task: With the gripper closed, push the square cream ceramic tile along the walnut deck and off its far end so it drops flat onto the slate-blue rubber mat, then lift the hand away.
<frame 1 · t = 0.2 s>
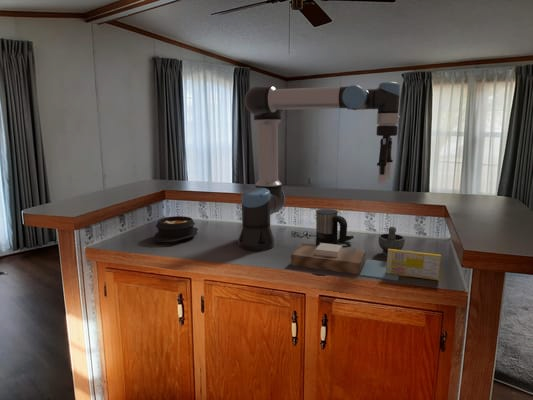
hand: (384, 181, 148), 28 cm above the table, tool pointing down, fingers open, 13 cm apart
candy box: (411, 276, 125), on the table, touching mat
casserole: (176, 238, 171), on the table
milk frother: (334, 244, 160), on the table
tile: (329, 252, 137), point 4 cm above the table, touching deck
deck: (328, 263, 138), on the table
mortar and pestle: (390, 255, 147), on the table
mat: (381, 269, 131), on the table
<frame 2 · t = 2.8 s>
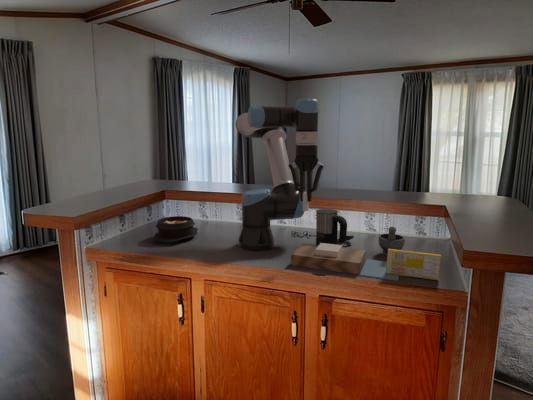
hand: (305, 210, 138), 19 cm above the table, tool pointing down, fingers closed
nothing on the table moved.
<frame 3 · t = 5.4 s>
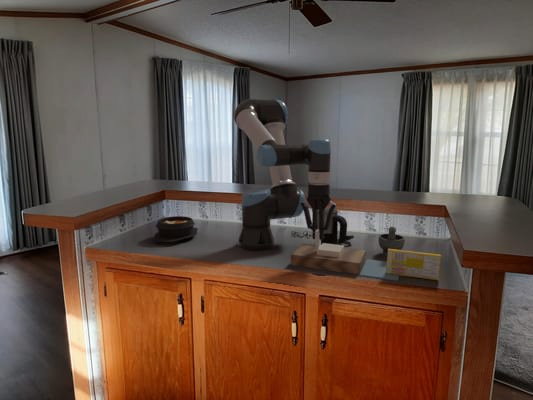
hand: (317, 247, 138), 5 cm above the table, tool pointing down, fingers closed
tile: (330, 252, 137), point 4 cm above the table, touching gripper
everything else where it was.
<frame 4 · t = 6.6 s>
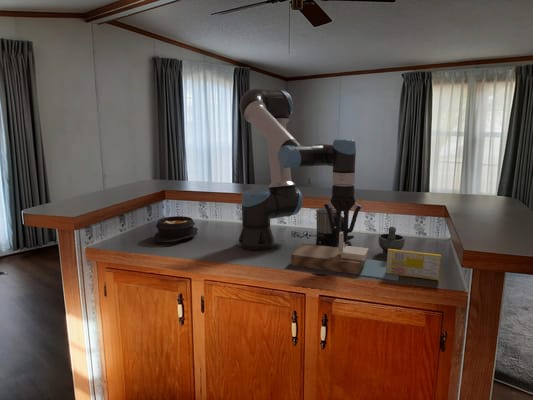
hand: (341, 250, 135), 5 cm above the table, tool pointing down, fingers closed
tile: (354, 255, 134), point 4 cm above the table, touching deck, gripper
everything else where it was.
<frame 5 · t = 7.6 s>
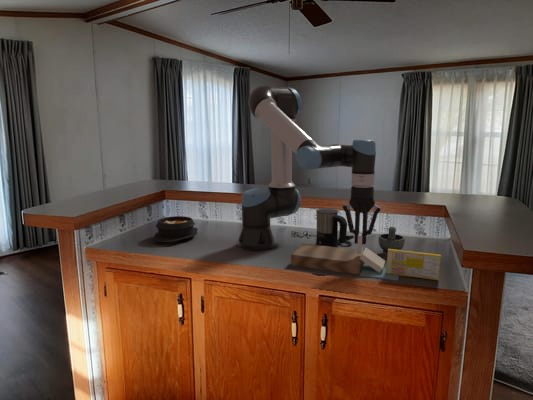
hand: (359, 252, 133), 5 cm above the table, tool pointing down, fingers closed
tile: (370, 261, 132), point 2 cm above the table, tilted 31°, touching gripper, mat
everything else where it was.
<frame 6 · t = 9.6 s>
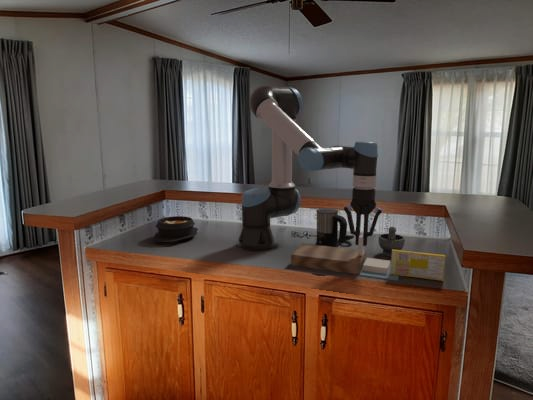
hand: (360, 254, 133), 5 cm above the table, tool pointing down, fingers closed
candy box: (415, 277, 125), on the table, touching mat
tile: (376, 268, 132), resting on mat
everything else where it was.
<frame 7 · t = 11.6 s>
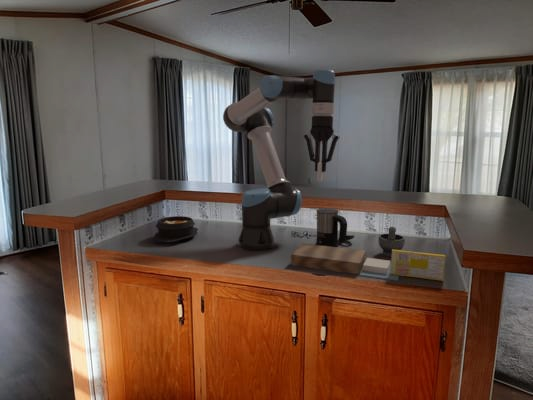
hand: (319, 180, 141), 29 cm above the table, tool pointing down, fingers closed
nothing on the table moved.
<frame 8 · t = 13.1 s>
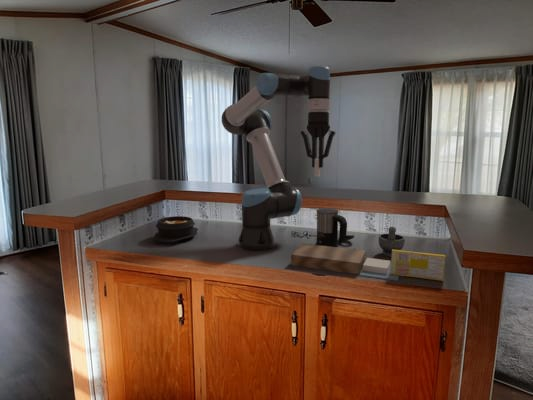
hand: (317, 176, 142), 30 cm above the table, tool pointing down, fingers closed
at the end: tile resting on mat; tile inside the target area on the mat (1.5 cm from its centre), point 0.4 cm above the mat's base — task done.
